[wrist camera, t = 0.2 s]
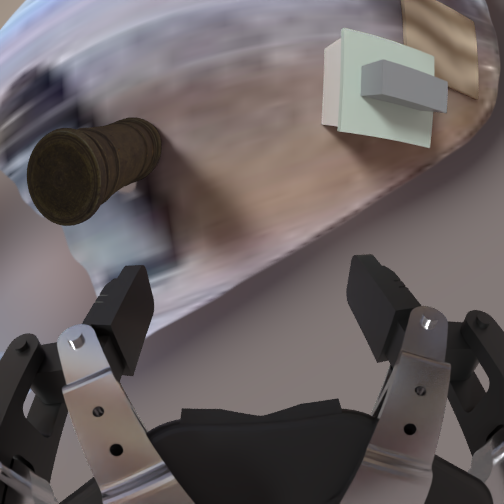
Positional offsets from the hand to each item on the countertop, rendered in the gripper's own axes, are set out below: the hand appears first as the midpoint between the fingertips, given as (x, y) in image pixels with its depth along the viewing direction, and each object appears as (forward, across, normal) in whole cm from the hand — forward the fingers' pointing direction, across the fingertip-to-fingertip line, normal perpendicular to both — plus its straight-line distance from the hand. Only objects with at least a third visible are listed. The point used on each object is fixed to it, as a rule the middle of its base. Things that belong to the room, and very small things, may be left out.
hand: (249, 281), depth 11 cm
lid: (+22, -17, -10) cm, 30 cm away
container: (+29, +15, -3) cm, 33 cm away
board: (+29, -32, -22) cm, 49 cm away
